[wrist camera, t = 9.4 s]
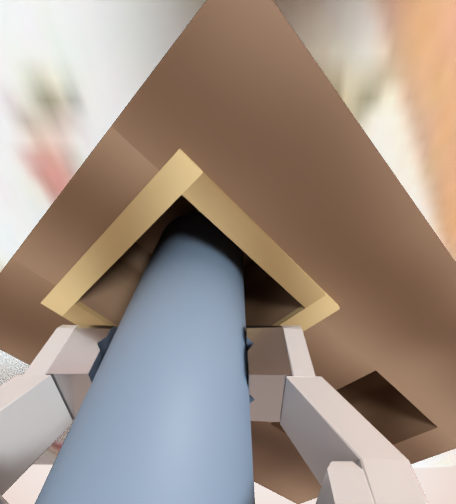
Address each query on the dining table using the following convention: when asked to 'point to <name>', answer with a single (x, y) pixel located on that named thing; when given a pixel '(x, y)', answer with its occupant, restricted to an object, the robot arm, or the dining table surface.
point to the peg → (168, 387)
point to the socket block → (258, 231)
